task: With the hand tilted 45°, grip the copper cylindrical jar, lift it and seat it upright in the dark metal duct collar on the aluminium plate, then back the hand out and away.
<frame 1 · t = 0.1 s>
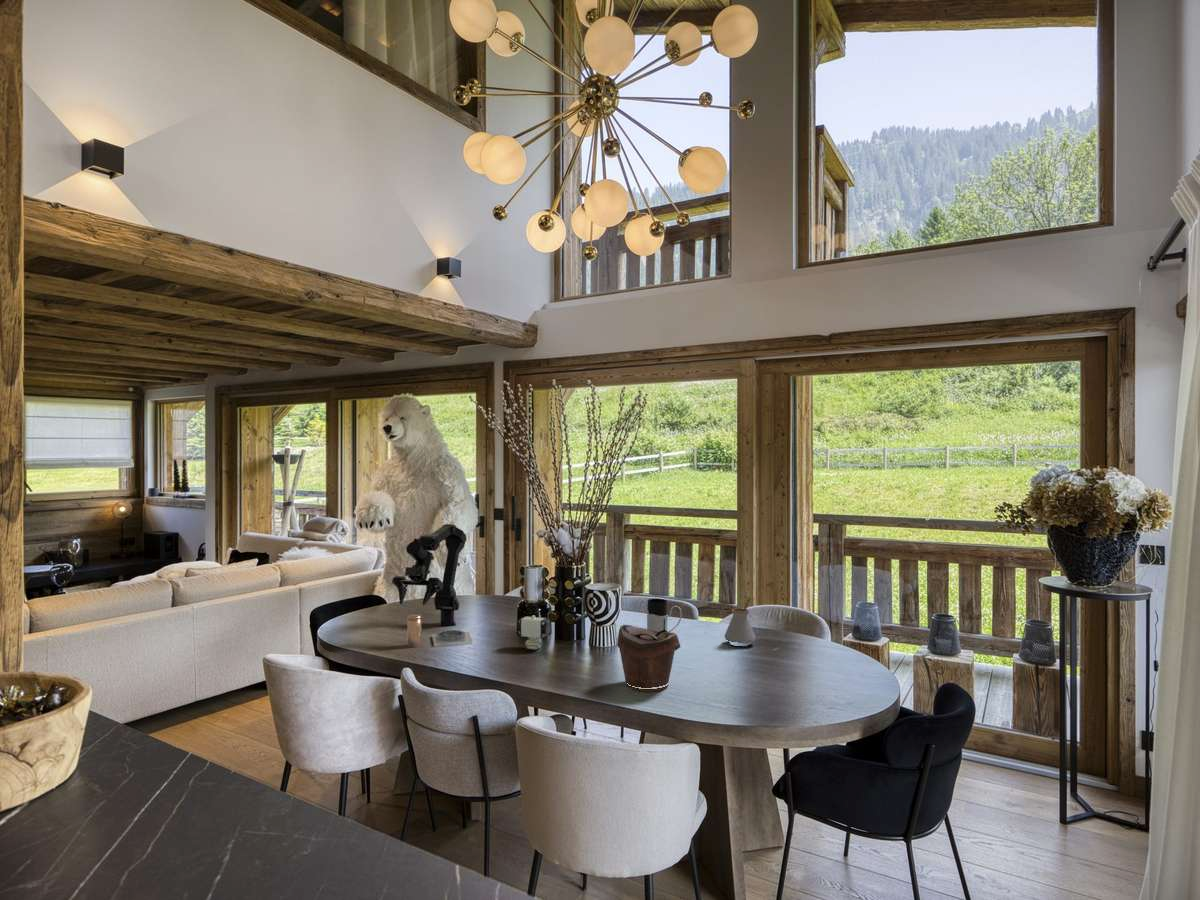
hand: (412, 604, 258), 15 cm above the table, tool tilted 35°, fingers open, 9 cm apart
coffee pot: (743, 641, 263), on the table
duct collar plate: (452, 640, 263), on the table
brown flower pot: (647, 686, 212), on the table
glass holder: (663, 641, 264), on the table
copper cylindrical jar: (414, 645, 255), on the table
pneumatic valve: (533, 648, 252), on the table
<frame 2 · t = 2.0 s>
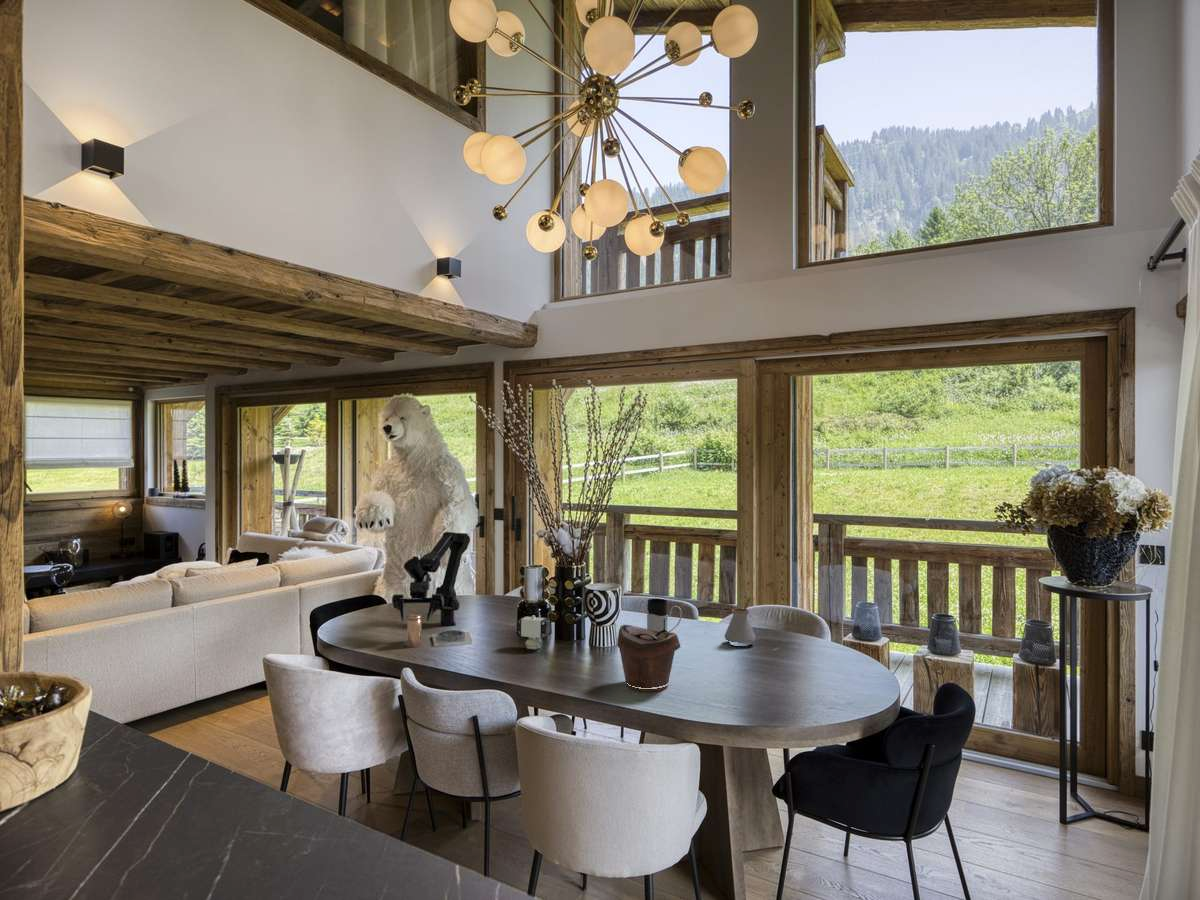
hand: (415, 620, 257), 9 cm above the table, tool tilted 45°, fingers open, 9 cm apart
nothing on the table moved.
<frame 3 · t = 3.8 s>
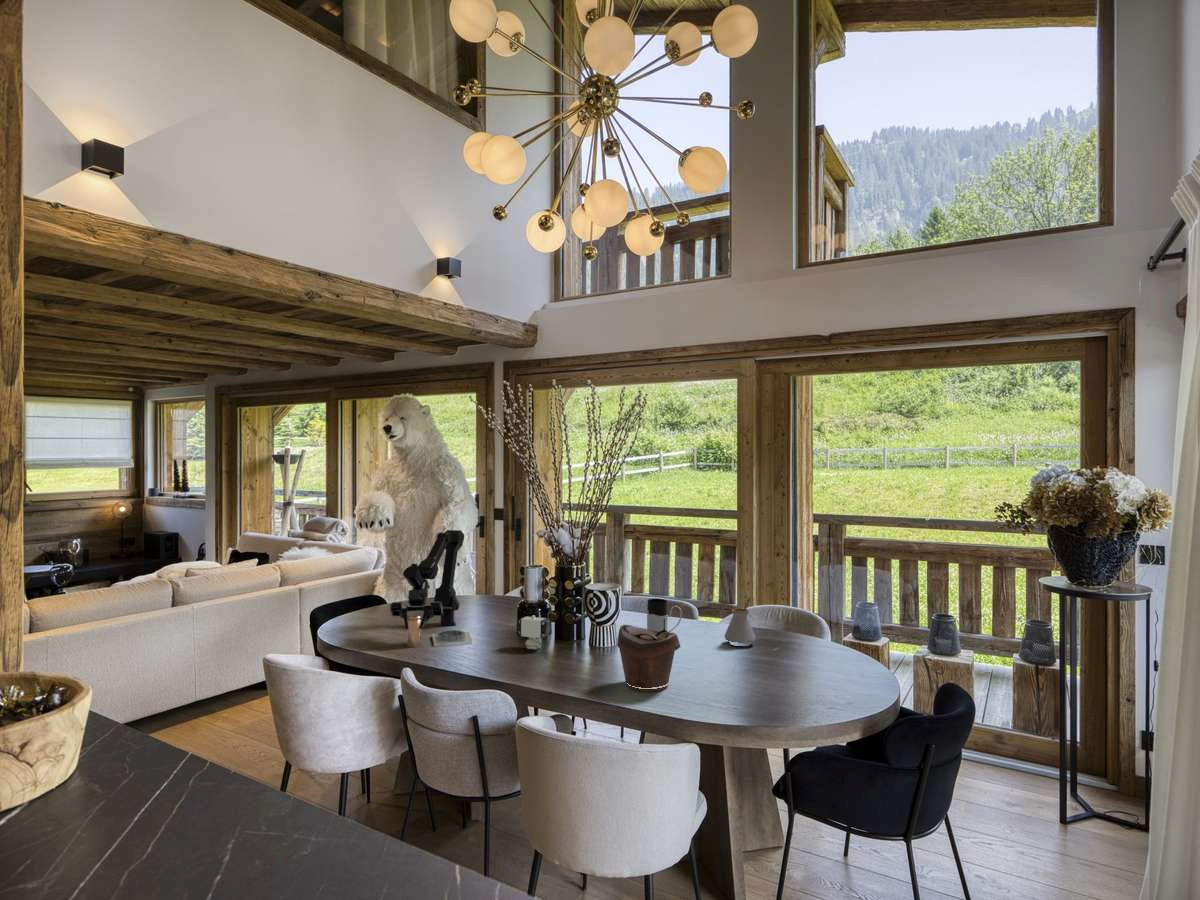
hand: (413, 628, 254), 7 cm above the table, tool tilted 45°, fingers closed on copper cylindrical jar, 5 cm apart
copper cylindrical jar: (414, 645, 255), on the table, touching gripper
everything else where it was.
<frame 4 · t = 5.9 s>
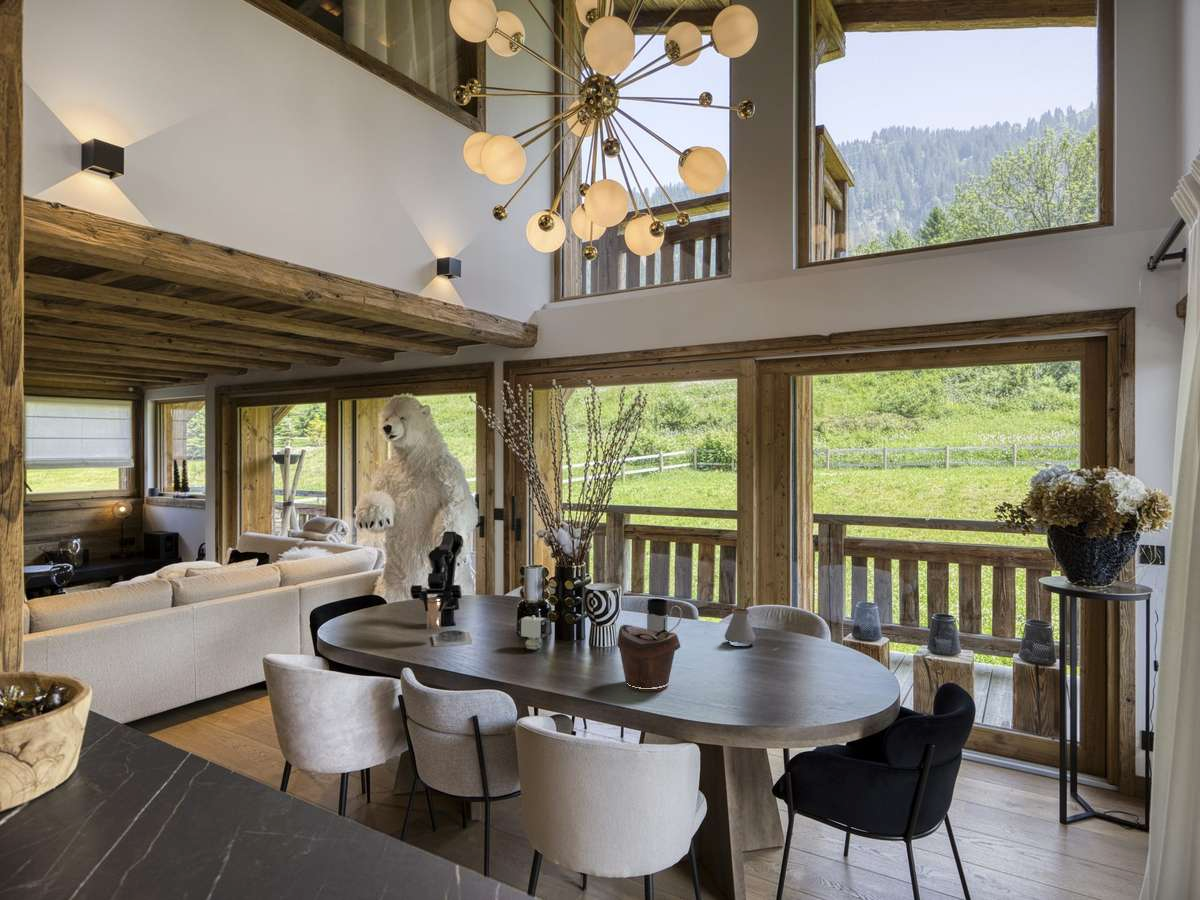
hand: (433, 611, 258), 12 cm above the table, tool tilted 45°, fingers closed on copper cylindrical jar, 5 cm apart
copper cylindrical jar: (433, 627, 259), point 6 cm above the table, touching gripper
everything else where it was.
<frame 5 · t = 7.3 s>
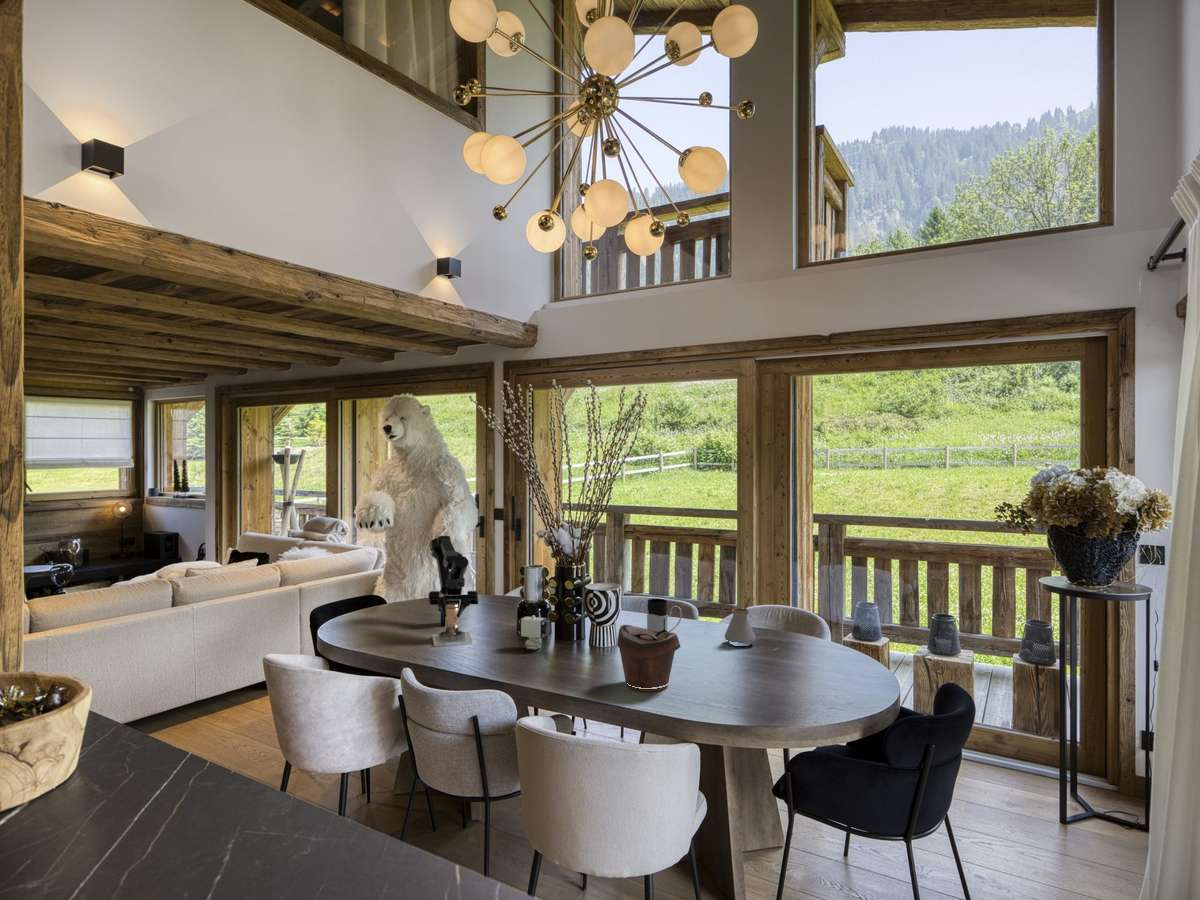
hand: (451, 616, 262), 9 cm above the table, tool tilted 45°, fingers closed on copper cylindrical jar, 5 cm apart
copper cylindrical jar: (451, 633, 263), point 3 cm above the table, touching gripper
everything else where it was.
when the fingers open (8 cm above the table, at t = 8.3 s): copper cylindrical jar stays where it is, resting on duct collar plate.
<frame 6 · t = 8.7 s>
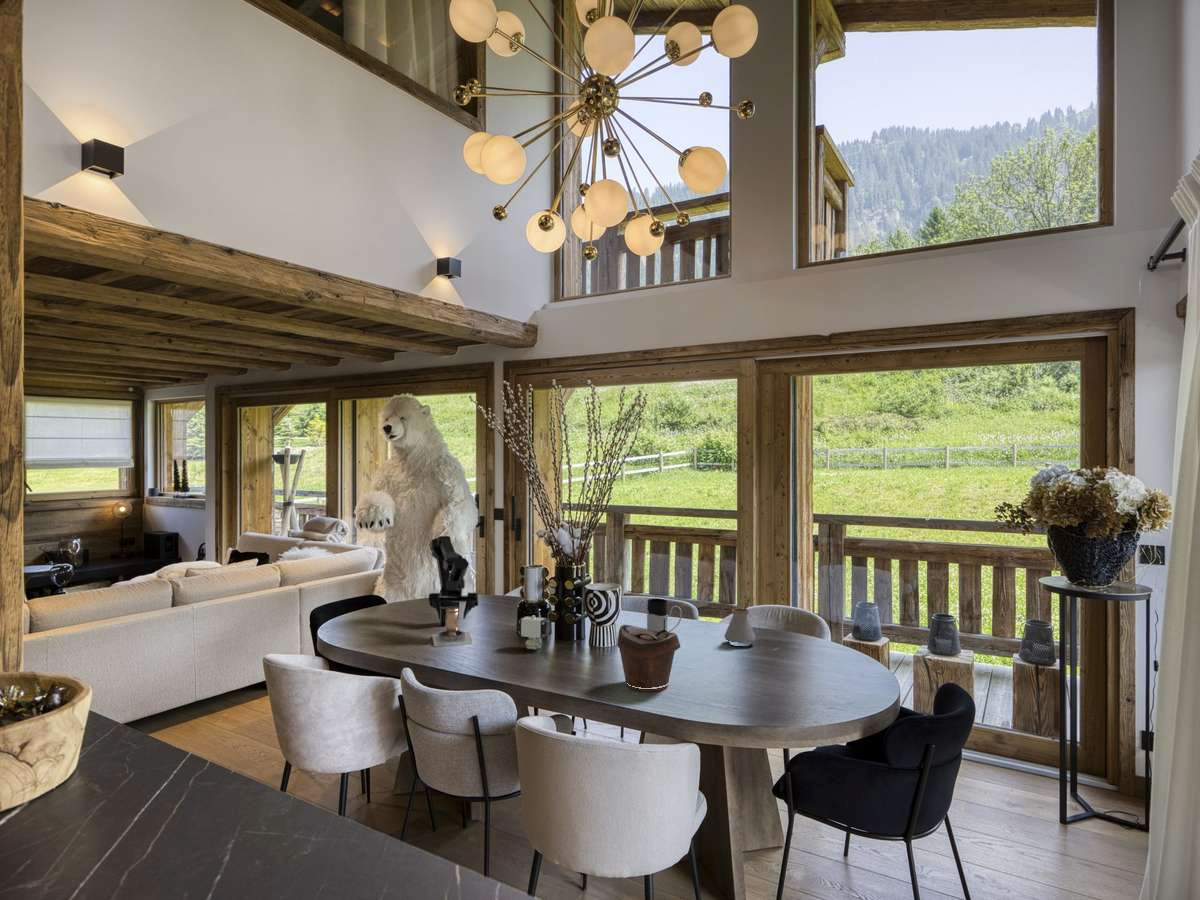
hand: (451, 618, 261), 9 cm above the table, tool tilted 45°, fingers open, 9 cm apart
copper cylindrical jar: (452, 637, 263), point 1 cm above the table, touching duct collar plate
everything else where it was.
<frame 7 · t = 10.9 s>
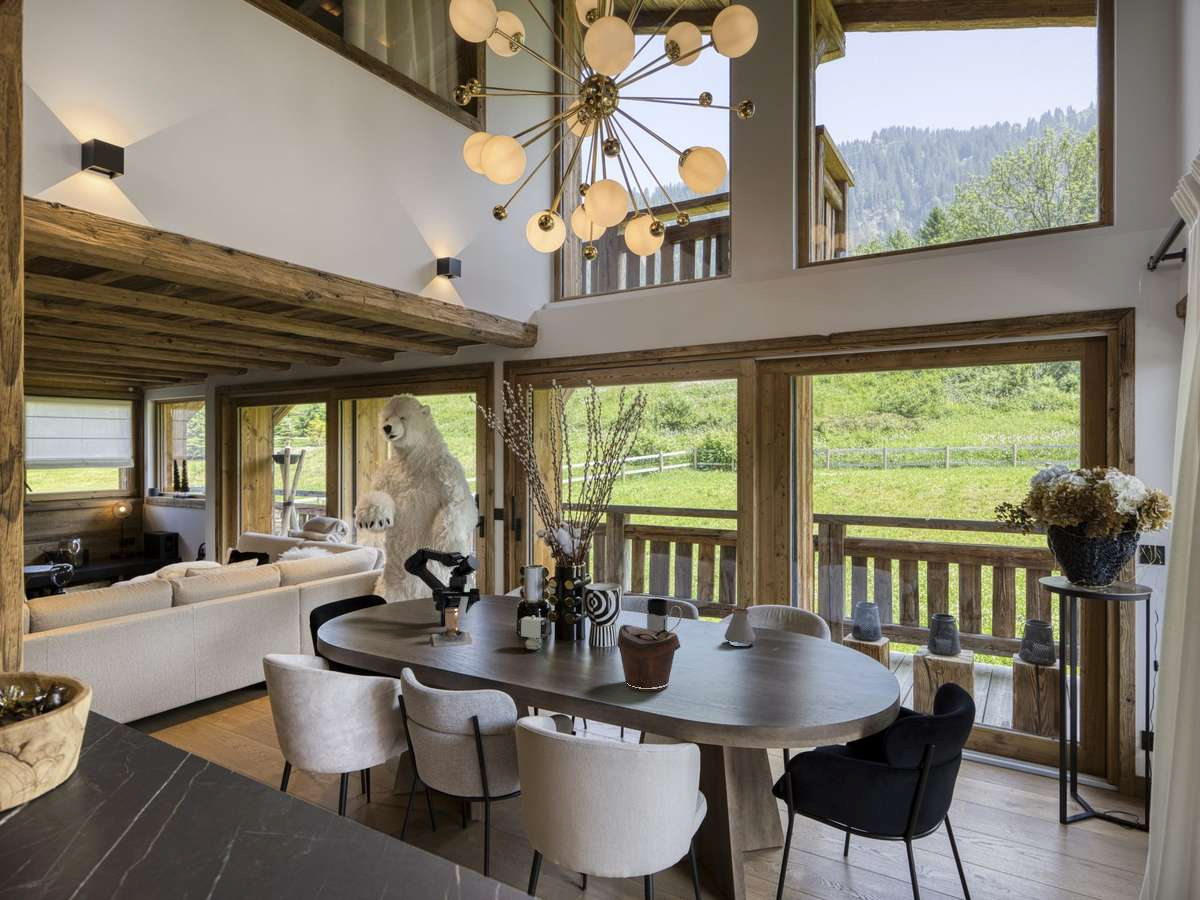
hand: (454, 613, 271), 9 cm above the table, tool tilted 45°, fingers open, 9 cm apart
nothing on the table moved.
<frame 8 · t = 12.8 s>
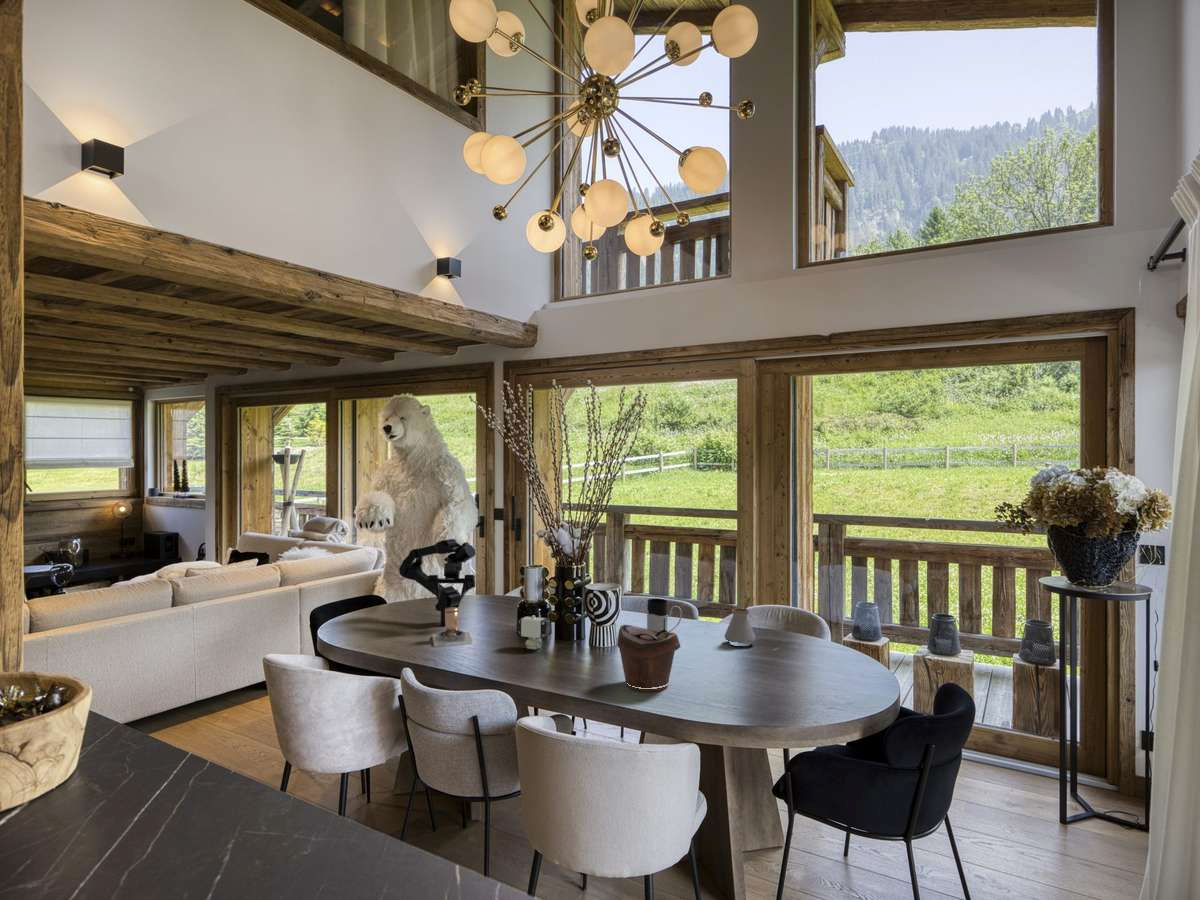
hand: (449, 599, 273), 14 cm above the table, tool tilted 45°, fingers open, 9 cm apart
nothing on the table moved.
at the end: copper cylindrical jar 0.1 cm off-centre on the duct collar plate, point 1.0 cm above the duct collar plate's base; copper cylindrical jar tilted 1°; the gripper is holding nothing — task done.
